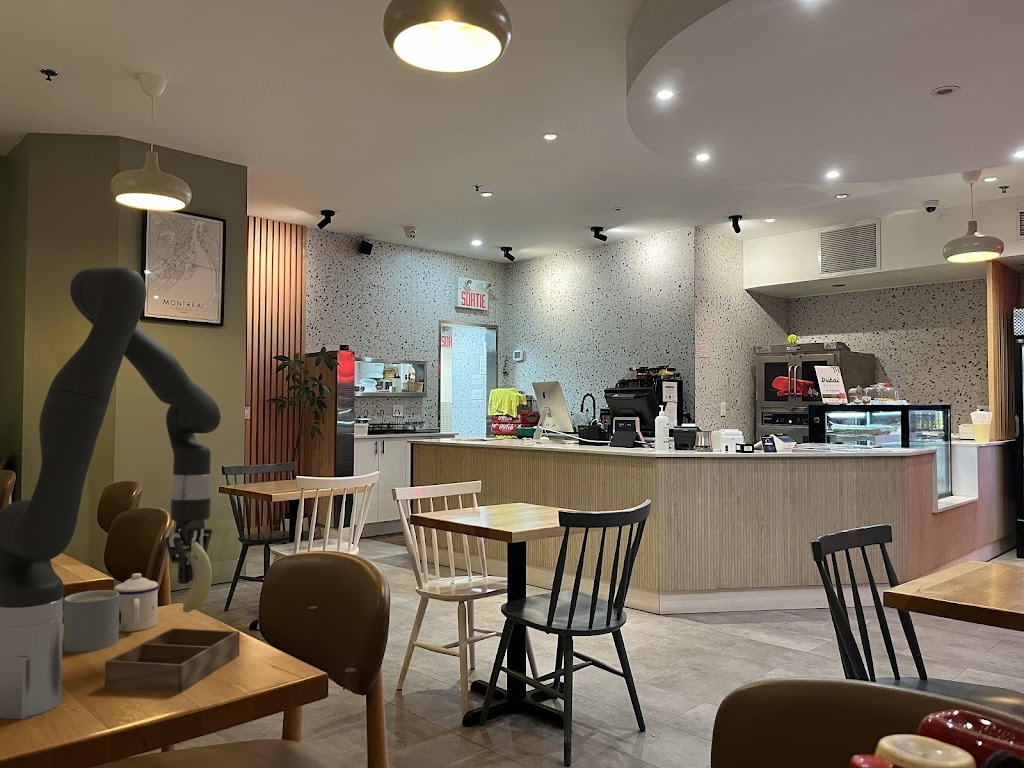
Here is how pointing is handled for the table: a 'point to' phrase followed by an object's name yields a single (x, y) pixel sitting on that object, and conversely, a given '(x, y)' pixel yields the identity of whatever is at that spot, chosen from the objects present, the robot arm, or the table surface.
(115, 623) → the coffee mug
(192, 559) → the fruit
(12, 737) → the table surface
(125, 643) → the table surface
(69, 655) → the table surface
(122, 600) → the teacup with lid
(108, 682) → the walnut crate
